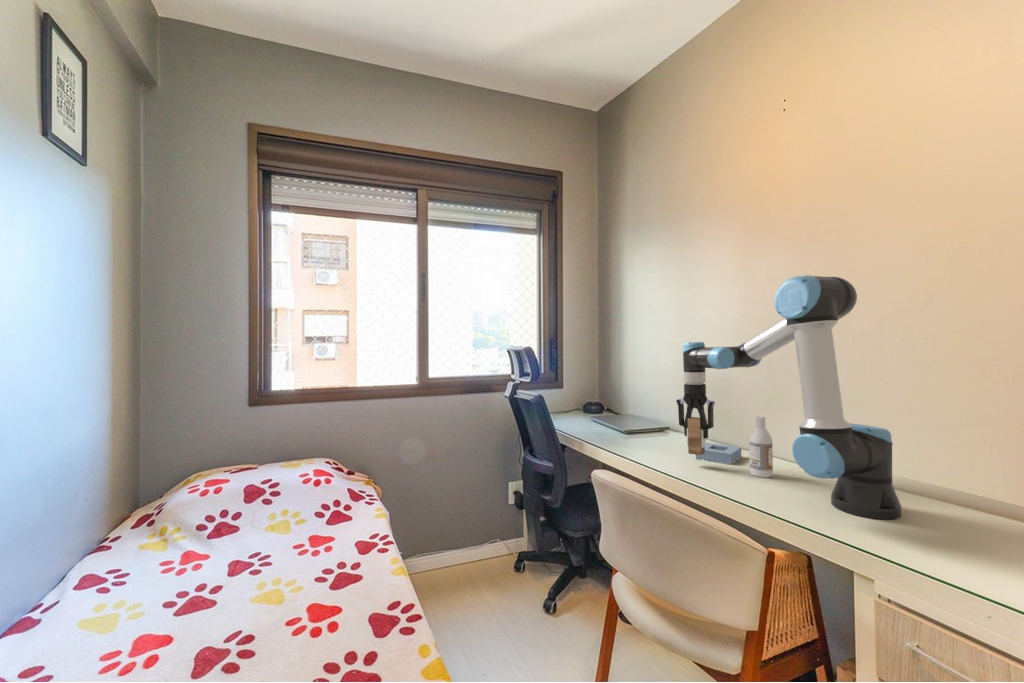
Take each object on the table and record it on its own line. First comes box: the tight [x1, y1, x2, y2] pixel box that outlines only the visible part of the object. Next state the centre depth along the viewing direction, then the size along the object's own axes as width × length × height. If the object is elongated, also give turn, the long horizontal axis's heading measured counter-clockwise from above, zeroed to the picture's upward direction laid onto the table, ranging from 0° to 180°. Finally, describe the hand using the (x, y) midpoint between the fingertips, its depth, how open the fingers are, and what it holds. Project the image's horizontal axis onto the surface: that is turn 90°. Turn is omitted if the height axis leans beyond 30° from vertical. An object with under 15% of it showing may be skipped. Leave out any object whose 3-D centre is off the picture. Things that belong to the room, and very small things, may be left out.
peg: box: [687, 416, 705, 456], centre depth 163 cm, size 4×4×13 cm
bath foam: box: [748, 416, 774, 479], centre depth 152 cm, size 7×7×20 cm
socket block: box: [695, 442, 742, 465], centre depth 174 cm, size 13×13×4 cm
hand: (696, 445), depth 163 cm, fingers closed on peg, 4 cm apart
